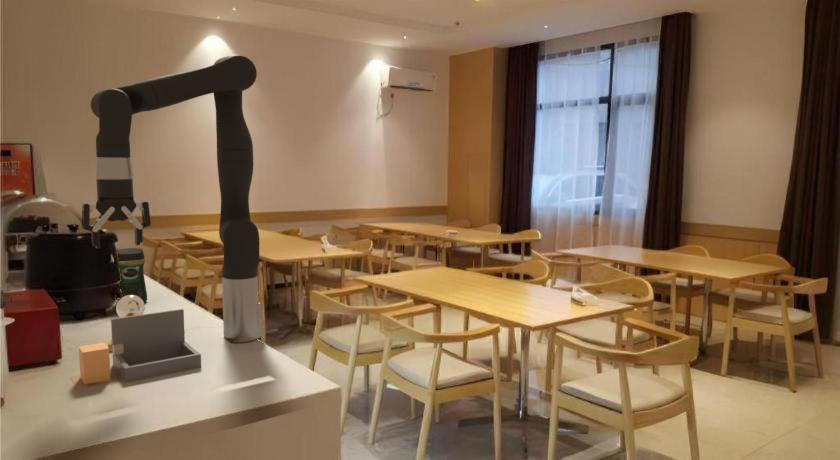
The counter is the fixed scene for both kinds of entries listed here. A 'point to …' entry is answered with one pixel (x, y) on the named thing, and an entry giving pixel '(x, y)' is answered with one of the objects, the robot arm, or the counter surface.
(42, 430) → the counter surface
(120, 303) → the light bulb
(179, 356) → the case
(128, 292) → the coffee jar
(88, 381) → the block
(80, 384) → the pad
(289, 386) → the counter surface
